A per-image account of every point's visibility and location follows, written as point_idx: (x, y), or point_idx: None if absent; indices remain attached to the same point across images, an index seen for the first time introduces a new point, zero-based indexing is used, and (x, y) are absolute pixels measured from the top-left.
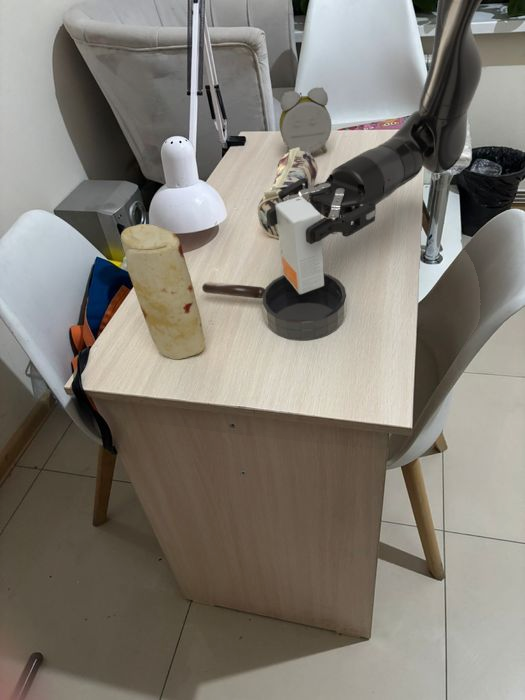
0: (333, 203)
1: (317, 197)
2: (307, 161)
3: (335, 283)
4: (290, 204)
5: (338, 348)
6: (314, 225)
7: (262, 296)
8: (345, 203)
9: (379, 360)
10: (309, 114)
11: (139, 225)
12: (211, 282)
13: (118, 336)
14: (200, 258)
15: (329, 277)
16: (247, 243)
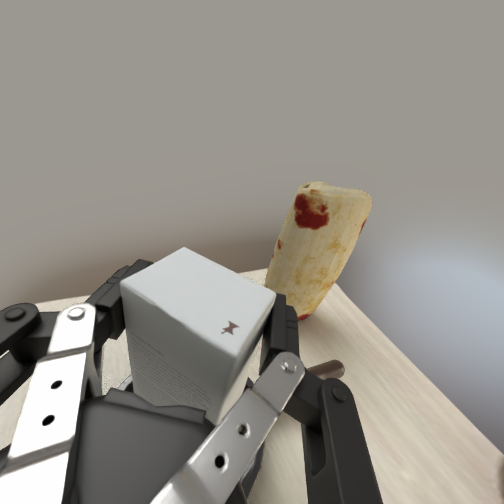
0: (76, 360)
1: (182, 428)
2: None
3: None
4: (236, 299)
5: (102, 383)
6: (134, 272)
7: (251, 381)
8: (6, 448)
9: (25, 388)
10: None
11: (358, 189)
12: (336, 369)
13: (340, 302)
14: (465, 495)
15: None
16: None
